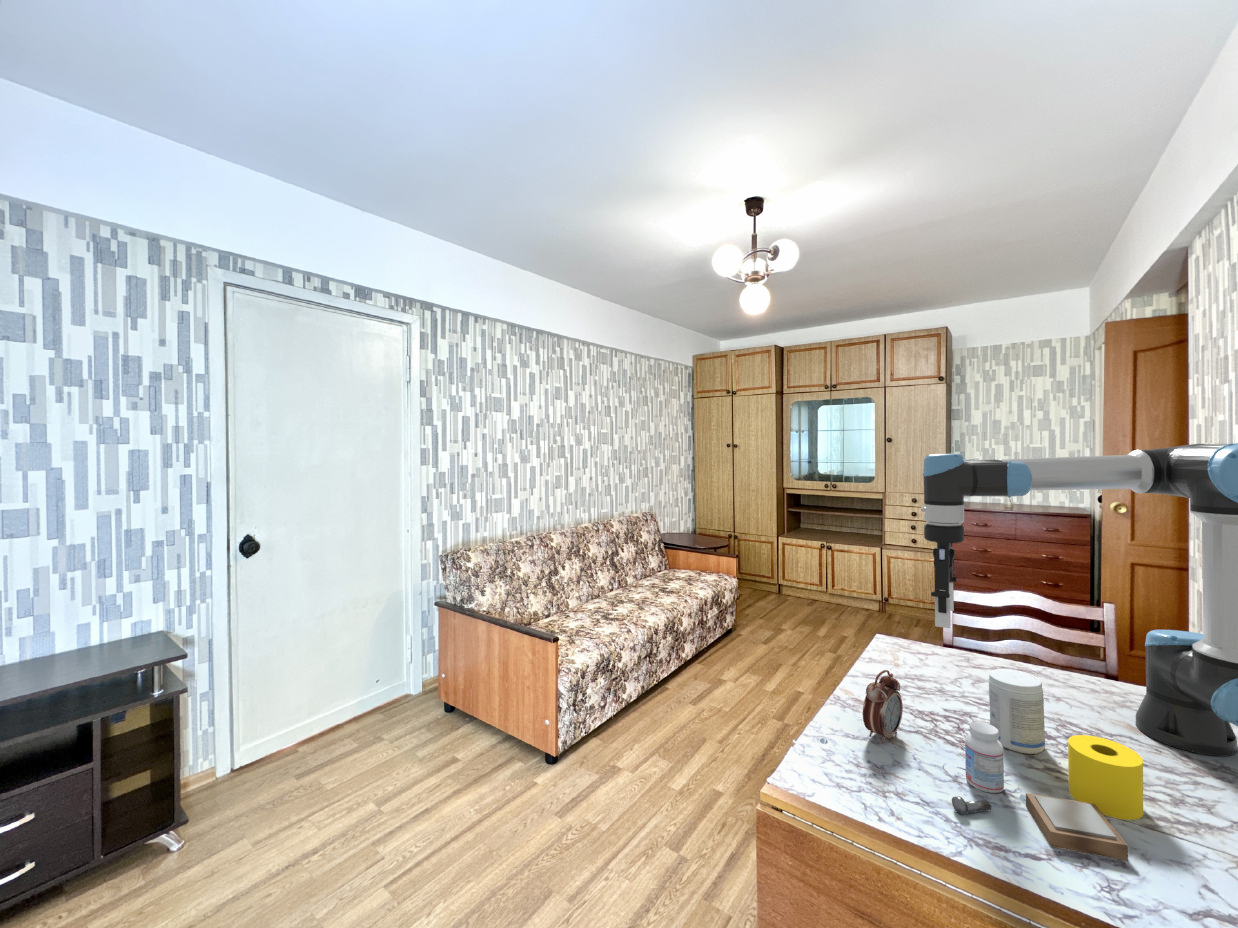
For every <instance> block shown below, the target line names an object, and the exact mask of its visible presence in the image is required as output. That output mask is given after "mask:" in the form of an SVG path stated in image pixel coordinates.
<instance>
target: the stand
mask: <svg viewBox="0 0 1238 928" xmlns="http://www.w3.org/2000/svg"><path fill="white" fill-rule="evenodd" d="M1025 807H1026V809H1027V811H1028V812H1029V814H1030V816H1031V817H1032V819H1033V820H1034V822H1035V823H1036V826H1037V827H1038V828H1039V830H1040V832H1041V833H1042V835H1043V837H1044V838H1045V840H1046V841H1047V843H1048V844H1049V845H1048V846H1049V847H1052V848H1057V849H1062V850H1068V851H1073V852H1078V853H1085V854H1089V855H1095V856H1100V857H1104V858H1111V859H1115V860H1122V861H1126V862H1129V845H1128V844H1127V841H1125V840H1124V838H1123V837H1122V836H1121V835H1120V833H1119V832H1118V831H1117V829H1115V827H1114V826H1113V824H1111V823H1110V821H1109V820H1108V819H1107V816H1106V815H1103V814H1102V813H1101V811H1100V810H1099V809H1098V808H1097V806H1096V805H1095V804H1092V803H1086V802H1080V801H1076V800H1075V799H1074V800H1071V799H1065V798H1060V797H1054V796H1049V795H1048V796H1047V795H1042V794H1037V793H1036V794H1034V793H1029V792H1025Z"/></svg>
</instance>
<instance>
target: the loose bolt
mask: <svg viewBox="0 0 1238 928" xmlns="http://www.w3.org/2000/svg"><path fill="white" fill-rule="evenodd" d="M951 804H952V807H953V810H954V811H955V812H956V813H957V814H959V815H964V814H965V815H966V814H968V813H978V812H987V811H991V810H992V806H991V803H990V802H989V801H988V800H987V799H981V800H971V801H965V800H964V798H963V797H961V796H959V795H958V796H952V797H951Z"/></svg>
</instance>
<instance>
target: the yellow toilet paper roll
mask: <svg viewBox="0 0 1238 928" xmlns="http://www.w3.org/2000/svg"><path fill="white" fill-rule="evenodd" d="M1067 753H1068V754H1067V757H1068V758H1067V759H1068V760H1067V761H1068V762H1067V763H1068V764H1067V765H1068V766H1067V767H1068V768H1067V769H1068V771H1067V772H1068V773H1067V774H1068V778H1067V779H1068V792H1069V794H1070V796H1071V797H1072V798H1073V799H1074V801H1080V802H1086V803H1092V804H1095V805H1096V806H1097V808H1098V809H1099V810H1100V811H1101V813H1102V814H1103V815H1104V816H1105V817H1110V818H1113V819H1119V820H1125V821H1133V820H1134V821H1135V820H1139V819H1142V817H1143V816H1144V759H1143V758H1142V756H1141V755H1140V754H1139V753H1138V752H1137V751H1135V750H1133V749H1132V748H1130V747H1128V746H1126V745H1124V744H1122V743H1119V742H1117V741H1113V740H1111V739H1108V738H1103V737H1099V736H1096V735H1095V736H1094V735H1089V734H1088V735H1087V734H1077V735H1071V736H1070V737H1069V738H1068V739H1067Z"/></svg>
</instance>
